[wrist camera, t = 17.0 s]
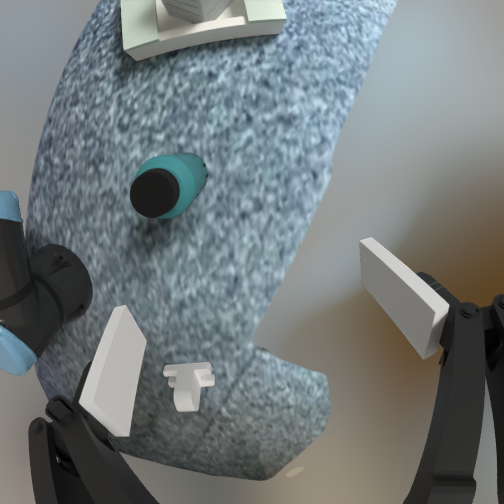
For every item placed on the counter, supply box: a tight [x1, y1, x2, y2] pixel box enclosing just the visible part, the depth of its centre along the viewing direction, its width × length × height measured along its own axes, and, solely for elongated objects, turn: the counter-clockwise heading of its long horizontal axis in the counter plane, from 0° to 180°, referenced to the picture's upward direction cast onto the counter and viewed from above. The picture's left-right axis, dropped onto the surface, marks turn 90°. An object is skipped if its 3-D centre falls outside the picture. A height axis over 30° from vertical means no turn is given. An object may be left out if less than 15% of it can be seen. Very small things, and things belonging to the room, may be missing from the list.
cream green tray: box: [121, 0, 286, 61], centre depth 27 cm, size 22×14×6 cm, turn 99°
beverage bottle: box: [130, 152, 208, 219], centre depth 30 cm, size 6×7×20 cm
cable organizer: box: [163, 362, 215, 411], centre depth 49 cm, size 5×10×10 cm, turn 98°
